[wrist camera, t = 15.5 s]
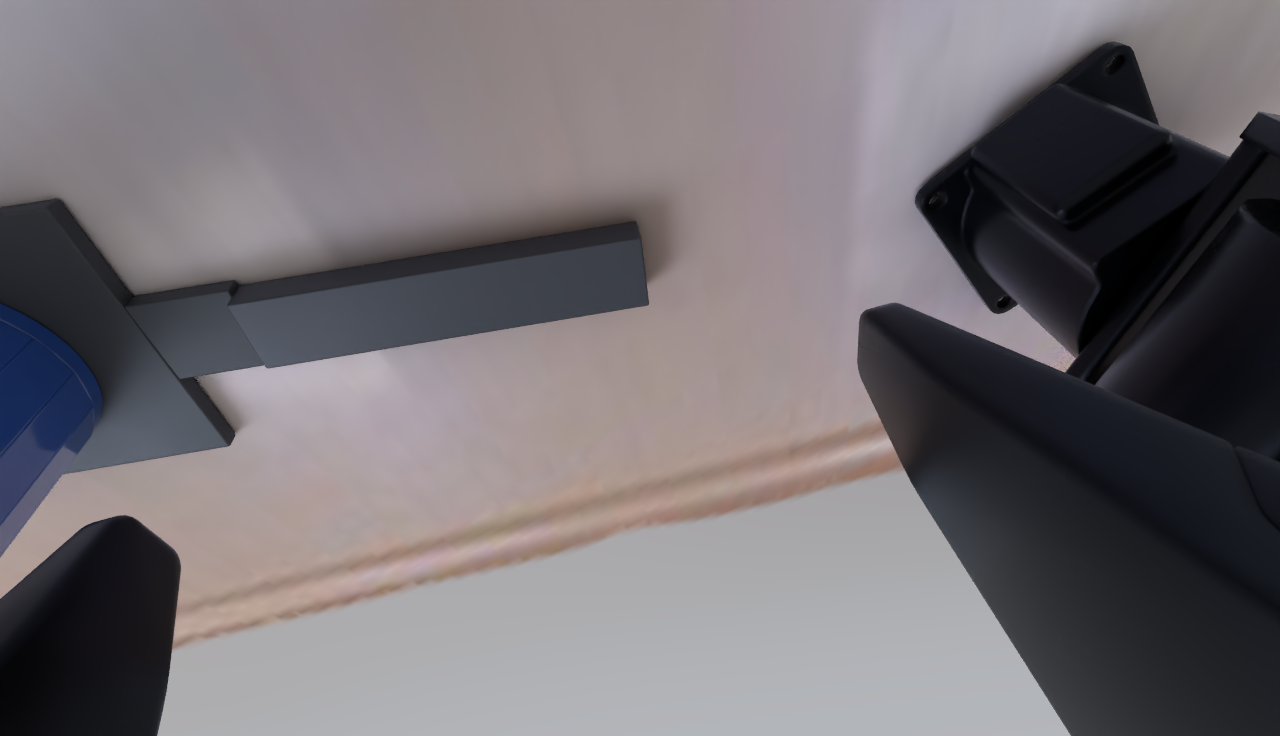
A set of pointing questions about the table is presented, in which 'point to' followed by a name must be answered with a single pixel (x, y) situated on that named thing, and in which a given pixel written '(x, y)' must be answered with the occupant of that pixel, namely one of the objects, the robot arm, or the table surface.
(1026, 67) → the table surface
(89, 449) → the spatula
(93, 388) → the cup
